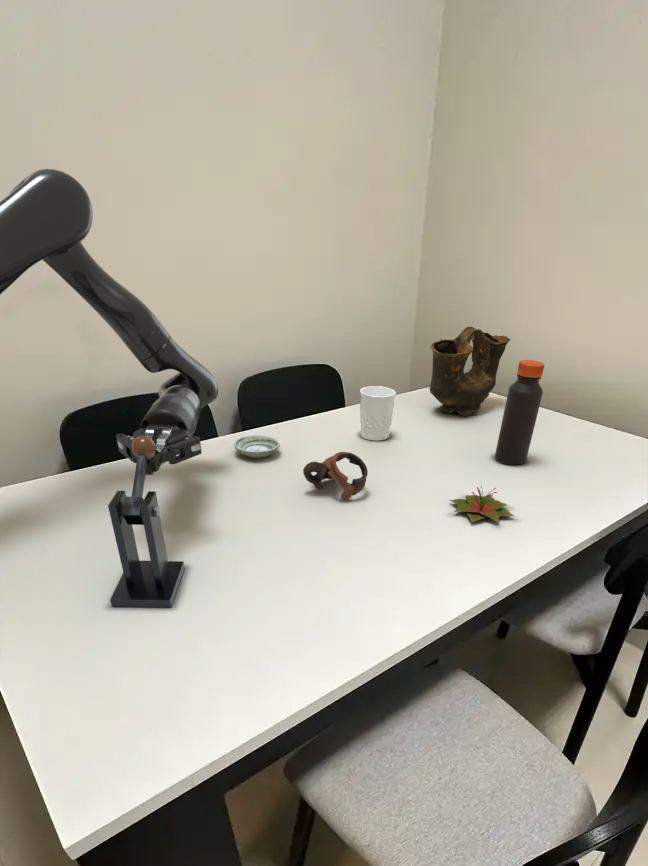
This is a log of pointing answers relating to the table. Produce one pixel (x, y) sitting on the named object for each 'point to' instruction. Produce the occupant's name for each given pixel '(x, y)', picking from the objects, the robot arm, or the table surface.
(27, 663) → the table surface
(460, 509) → the lily flower
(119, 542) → the bracket
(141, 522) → the lever
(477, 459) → the table surface
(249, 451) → the saucer
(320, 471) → the brown curved ring piece
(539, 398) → the bottle
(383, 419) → the white cup
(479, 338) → the pottery vessel
